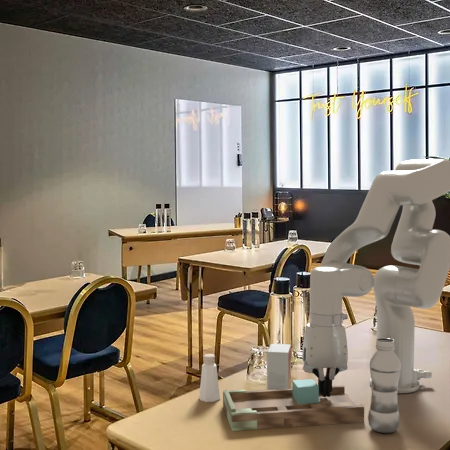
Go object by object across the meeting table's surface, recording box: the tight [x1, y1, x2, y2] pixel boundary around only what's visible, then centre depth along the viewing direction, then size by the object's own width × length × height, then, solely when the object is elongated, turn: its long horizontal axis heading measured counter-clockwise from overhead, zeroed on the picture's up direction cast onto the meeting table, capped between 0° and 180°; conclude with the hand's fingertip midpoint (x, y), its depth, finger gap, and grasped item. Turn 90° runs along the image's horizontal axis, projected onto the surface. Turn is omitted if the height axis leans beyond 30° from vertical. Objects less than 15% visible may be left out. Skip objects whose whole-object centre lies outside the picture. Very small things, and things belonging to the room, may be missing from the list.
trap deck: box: [222, 384, 365, 432], centre depth 141 cm, size 30×14×4 cm, turn 98°
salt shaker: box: [198, 353, 221, 403], centre depth 151 cm, size 5×5×11 cm
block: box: [291, 378, 319, 404], centre depth 144 cm, size 5×5×4 cm
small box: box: [266, 343, 292, 390], centre depth 158 cm, size 8×6×10 cm
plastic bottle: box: [367, 338, 401, 434], centre depth 131 cm, size 6×7×20 cm
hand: (324, 394), depth 145 cm, fingers closed
